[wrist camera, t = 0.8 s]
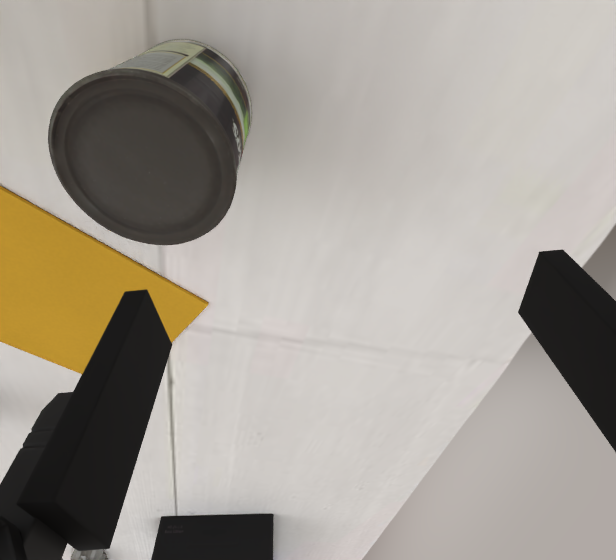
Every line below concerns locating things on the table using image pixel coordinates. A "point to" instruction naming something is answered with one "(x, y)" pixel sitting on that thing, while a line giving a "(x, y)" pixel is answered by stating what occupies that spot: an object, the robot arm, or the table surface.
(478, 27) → the table surface
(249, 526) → the headphone box
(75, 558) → the egg carton
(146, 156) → the coffee can
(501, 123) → the table surface
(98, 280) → the cloth
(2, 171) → the table surface
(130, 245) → the table surface
